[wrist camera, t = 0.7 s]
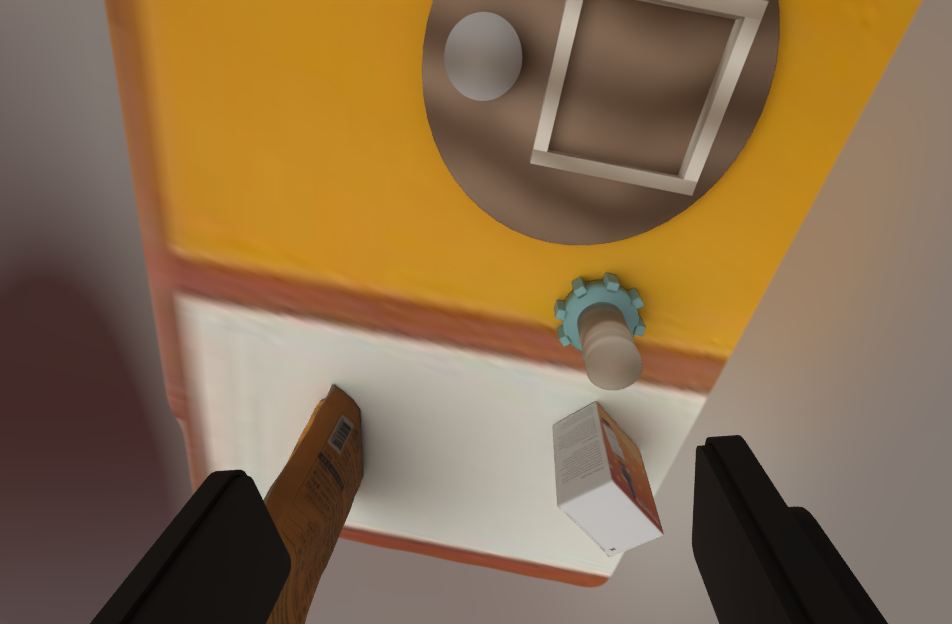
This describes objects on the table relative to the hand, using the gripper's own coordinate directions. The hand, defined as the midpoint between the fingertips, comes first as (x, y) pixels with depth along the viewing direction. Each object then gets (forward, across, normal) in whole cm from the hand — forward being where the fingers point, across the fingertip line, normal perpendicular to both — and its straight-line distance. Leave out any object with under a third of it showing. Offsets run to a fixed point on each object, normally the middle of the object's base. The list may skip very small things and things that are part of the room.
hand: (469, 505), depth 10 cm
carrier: (+31, -7, -8) cm, 33 cm away
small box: (+32, -6, +26) cm, 42 cm away
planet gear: (+32, -7, +12) cm, 34 cm away
